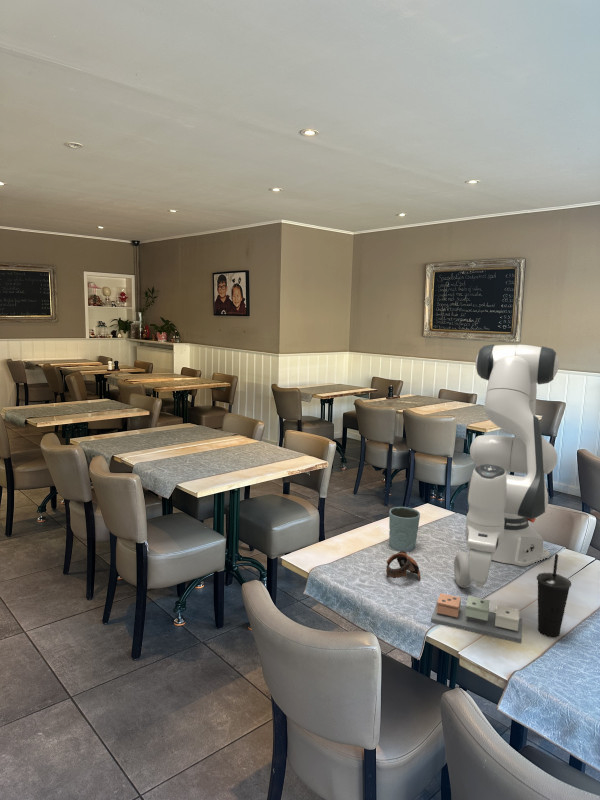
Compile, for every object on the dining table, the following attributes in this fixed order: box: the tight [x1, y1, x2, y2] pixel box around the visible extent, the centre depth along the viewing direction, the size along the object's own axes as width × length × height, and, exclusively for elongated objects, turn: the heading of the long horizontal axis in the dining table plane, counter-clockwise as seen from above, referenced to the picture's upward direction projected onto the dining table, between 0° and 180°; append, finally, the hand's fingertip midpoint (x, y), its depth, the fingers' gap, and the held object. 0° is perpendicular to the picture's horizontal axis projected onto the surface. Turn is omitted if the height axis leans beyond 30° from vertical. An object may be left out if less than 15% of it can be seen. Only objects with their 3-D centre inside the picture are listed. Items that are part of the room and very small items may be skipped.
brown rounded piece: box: [385, 551, 422, 582], centre depth 163 cm, size 12×10×8 cm
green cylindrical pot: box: [388, 506, 421, 553], centre depth 184 cm, size 10×10×12 cm
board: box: [430, 599, 523, 644], centre depth 139 cm, size 21×10×2 cm, turn 68°
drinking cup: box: [536, 553, 572, 639], centre depth 135 cm, size 8×8×20 cm
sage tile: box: [465, 595, 491, 621], centre depth 139 cm, size 5×5×3 cm
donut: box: [453, 550, 472, 589], centre depth 158 cm, size 10×4×10 cm, turn 178°
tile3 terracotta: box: [436, 592, 462, 617], centre depth 142 cm, size 5×5×3 cm
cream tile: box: [495, 604, 520, 631], centre depth 136 cm, size 5×5×3 cm
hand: (479, 585), depth 138 cm, fingers closed
